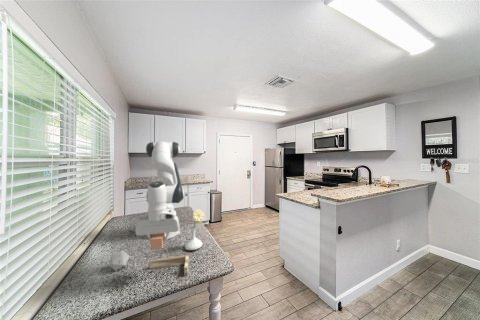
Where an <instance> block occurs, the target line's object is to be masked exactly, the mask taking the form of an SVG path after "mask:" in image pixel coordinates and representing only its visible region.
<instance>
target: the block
mask: <svg viewBox="0 0 480 320" xmlns="http://www.w3.org/2000/svg"><path fill="white" fill-rule="evenodd" d="M165 236H166V233H158V234H152V235H151V237H152V238H151V243H150V251H151V250H159V249H160V250H161V249H163V247H164V246H165V245H164V244H165V243H166V241H164V237H165Z"/></svg>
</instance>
